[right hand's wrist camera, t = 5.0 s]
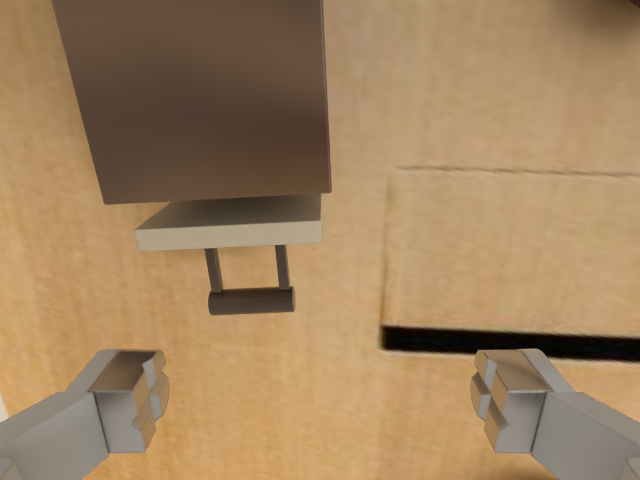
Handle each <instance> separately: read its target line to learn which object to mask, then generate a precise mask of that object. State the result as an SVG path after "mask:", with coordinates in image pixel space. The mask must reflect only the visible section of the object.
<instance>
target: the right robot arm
mask: <svg viewBox="0 0 640 480" xmlns="http://www.w3.org/2000/svg"><path fill="white" fill-rule="evenodd" d="M165 364H166V362H165V357H164V353H163V352H162V351H161V350H142V349H103V350H100V351H98V352H97V353H96V355H95V356H94V357H93V358H92V359H91V361H90V362H89V363H88V364H87V365H86V366H85V368H84V369H83V370H82V371H81V372H80V374H79V375H78V376H77V377H76V378H75V380H74V381H73V382H72V383H71V384H70V386H69V387H68V388H67V389H66V390H65V392H57V393H55V394H53V395H52V396H50V397H48V398H46V399H44V400H42V401H40V402H38V403H37V404H35V405H33V406H31V407H29V408H27V409H25V410H23V411H22V412H20V413H18V414H16V415H14V416H12V417H10V418H8V419H7V420H5V421H3V422H1V423H0V480H81V479H83V478H84V477H85V476H86V475H87V474H88V473H90V472H91V471H92V470H93V469H94V468H95V467H96V466H98V465H99V464H100V463H101V462H102V461H103V460H104V459H106V458H107V457H108V456H109V454H110V453H144V452H146V449H147V447H148V445H149V443H150V441H151V439H152V437H153V435H154V433H155V431H156V427H155V421H156V420H157V419H159V418H160V417H161V416H163V414H164V412H165V409H166V407H167V403H168V399H169V379H168V377H167V376H166V375H165V374H164V373H163V372H162V370H163V368H164V366H165ZM474 364H475V366H476V368H477V370H478V372H477V373H476V374H475V375H474V376H473V377H472V380H471V388H470V390H471V400H472V403H473V407H474V409H475V412H476V414H477V416H479V417H480V418H481V419H483V420H484V421H485V427H484V431H485V433H486V435H487V437H488V439H489V441H490V443H491V445H492V447H493V449H494V451H495V453H530V454H531V456H532V457H534V458H535V459H536V460H537V461H538V462H539V463H540V464H542V465H543V466H544V467H545V468H546V469H547V470H548V471H550V472H551V473H552V474H553V475H554V476H555V477H556V478H558V479H559V480H640V423H639V422H637V421H635V420H633V419H631V418H630V417H628V416H626V415H624V414H622V413H620V412H618V411H616V410H615V409H613V408H611V407H609V406H607V405H605V404H603V403H602V402H600V401H598V400H596V399H594V398H592V397H590V396H588V395H587V394H585V393H583V392H575V390H574V389H573V388H572V387H571V386H570V384H569V383H568V382H567V381H566V380H565V378H564V377H563V376H562V375H561V374H560V373H559V371H558V370H557V369H556V368H555V367H554V365H553V364H552V363H551V362H550V361H549V359H548V358H547V357H546V356H545V355H544V353H543V352H542V351H540V350H538V349H517V350H478V352H477V354H476V356H475V362H474Z"/></svg>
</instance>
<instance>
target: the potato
mask: <svg viewBox="0 0 640 480" xmlns="http://www.w3.org/2000/svg"><path fill="white" fill-rule="evenodd" d="M631 1H632V2H633V4H635V5H636V6H638V7H639V8H640V0H631Z"/></svg>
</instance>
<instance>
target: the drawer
mask: <svg viewBox="0 0 640 480" xmlns="http://www.w3.org/2000/svg"><path fill="white" fill-rule="evenodd" d="M322 226H323V193H319V194H300V195H281V196H262V197H243V198H224V199H205V200H186V201H172V202H170V203H169V204H168V205H167V206H165V207H164V208H163V209H161V210H160V211H159V212H157V213H156V214H155V215H153V216H152V217H151V218H149V219H148V220H147V221H146V222H144V223H143V224H142V225H140V226H139V227H138V228H136V229H135V235H136V239H137V243H138V248H139V251H140V252H142V251H162V250H183V249H205V255H206V260H207V266H208V272H209V278H210V284H211V289H212V290H211V291H210V294H209V299H208V307H209V312H210V314H211V315H236V314H259V313H282V312H294V311H295V290H294V287H293V286H290V279H289V269H288V258H287V247H286V244H307V243H322ZM266 245H275V250H276V259H277V269H278V278H279V287H264V288H242V289H223V283H222V277H221V271H220V264H219V258H218V252H217V248H224V247H245V246H266Z"/></svg>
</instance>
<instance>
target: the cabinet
mask: <svg viewBox="0 0 640 480" xmlns="http://www.w3.org/2000/svg"><path fill="white" fill-rule="evenodd" d="M52 4H53V8H54V11H55V15H56V19H57V23H58V27H59V31H60V35H61V38H62V42H63V46H64V50H65V54H66V58H67V62H68V66H69V69H70V73H71V77H72V81H73V85H74V89H75V93H76V97H77V100H78V104H79V108H80V112H81V116H82V120H83V124H84V127H85V131H86V135H87V139H88V143H89V147H90V151H91V155H92V158H93V162H94V166H95V170H96V174H97V178H98V182H99V186H100V189H101V193H102V197H103V201H104V204H106V205H109V204H129V203H148V202H167V201H186V200H205V199H224V198H243V197H262V196H281V195H300V194H319V193H331V191H332V187H331V166H330V145H329V124H328V103H327V83H326V62H325V41H324V20H323V0H52Z"/></svg>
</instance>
